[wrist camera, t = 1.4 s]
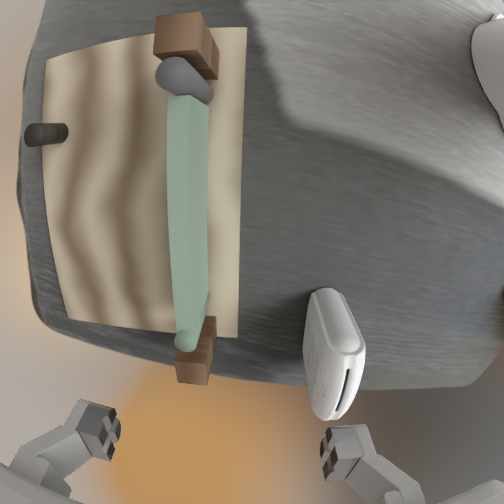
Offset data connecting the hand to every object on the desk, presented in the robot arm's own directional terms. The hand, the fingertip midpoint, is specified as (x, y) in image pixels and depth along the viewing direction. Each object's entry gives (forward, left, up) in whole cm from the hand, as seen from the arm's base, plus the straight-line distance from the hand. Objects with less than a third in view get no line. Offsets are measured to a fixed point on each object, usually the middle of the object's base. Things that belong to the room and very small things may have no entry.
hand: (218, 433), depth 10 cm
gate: (+5, -4, -22) cm, 23 cm away
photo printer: (-9, +11, -24) cm, 27 cm away
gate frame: (+13, -5, -23) cm, 27 cm away
